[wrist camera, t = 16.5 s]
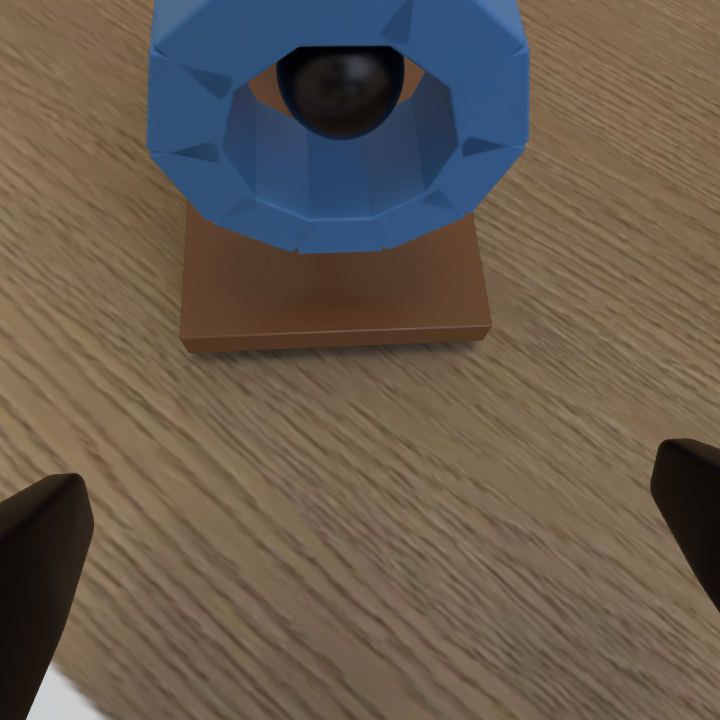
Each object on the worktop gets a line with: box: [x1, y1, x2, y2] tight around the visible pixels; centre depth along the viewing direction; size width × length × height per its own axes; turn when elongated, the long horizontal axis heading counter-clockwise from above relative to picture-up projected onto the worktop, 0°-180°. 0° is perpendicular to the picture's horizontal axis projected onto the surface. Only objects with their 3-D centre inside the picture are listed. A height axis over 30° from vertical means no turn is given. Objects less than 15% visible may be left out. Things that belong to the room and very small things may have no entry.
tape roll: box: [146, 0, 530, 254], centre depth 11 cm, size 3×8×7 cm, turn 94°
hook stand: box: [180, 46, 492, 353], centre depth 16 cm, size 15×10×11 cm, turn 4°
